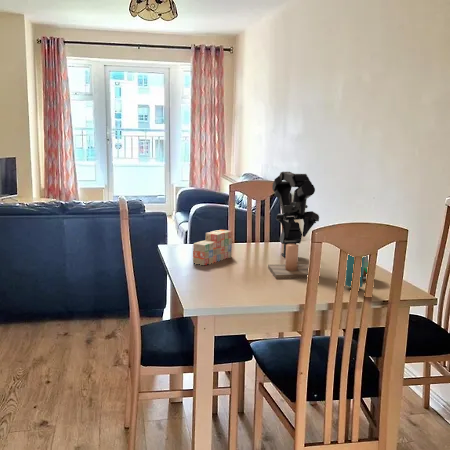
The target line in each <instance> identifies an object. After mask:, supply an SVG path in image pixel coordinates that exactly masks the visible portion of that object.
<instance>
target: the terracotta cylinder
mask: <svg viewBox="0 0 450 450" xmlns="http://www.w3.org/2000/svg"><path fill="white" fill-rule="evenodd" d="M284 259H285V263H284V264H285V270H288V271H296V270H298V264H299V244H298V243H296V244H286V257H285V258H284Z"/></svg>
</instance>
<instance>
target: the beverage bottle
mask: <svg viewBox="0 0 450 450" xmlns="http://www.w3.org/2000/svg"><path fill="white" fill-rule="evenodd" d="M364 259H365V258H364V257H363V258H362V267H361V277H360V287H359V288H362V287H363V285H364V281H363V279H364V278H363V275H364V274H363V272H364ZM353 264H354V257H352V256H350V255H348V260H347V259H346V267H347V270H346V269H345V276H346V277H345V278H346V279H345V280H346V281H345V286H347V287H349V288H351V287H350V286H351V281H352V273H353Z"/></svg>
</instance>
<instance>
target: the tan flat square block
mask: <svg viewBox="0 0 450 450" xmlns="http://www.w3.org/2000/svg"><path fill="white" fill-rule="evenodd" d="M308 267H309V266H308V265H307V264H306V263H304V264H303V263H298V270H296V271H288V270H285V263H284V264H283V263H282V264H280V263H279V264H268V266H267V268H268V270H269V271H270V273H271V274H272V276H273V277H274V278H275V279H276V280H277V279H279V280H280V279H284V280H285V279H308V278H307V275H308Z"/></svg>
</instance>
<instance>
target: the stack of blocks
mask: <svg viewBox="0 0 450 450" xmlns="http://www.w3.org/2000/svg"><path fill="white" fill-rule="evenodd" d="M232 236H233V231H232V230H227V229H219V230H218V229H217V230H215V229H214V230H212V231H210V232H205V240H200V241H197V242H194V243H192V244H193V245H192V247H193V248H192V264H193V263H195V264H194V265H196V264H200V265H199V266H201V265H206V266H208V265H207V264H209V265H212V264H215V263H218V262H221V261H223V259H224V260H227V259H229V258H232V250H233V249H232V248H233V247H232V246H233V245H232V244H233V237H232ZM226 258H227V259H226ZM220 260H221V261H220ZM217 261H218V262H217ZM214 262H215V263H214ZM211 263H212V264H211Z"/></svg>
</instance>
